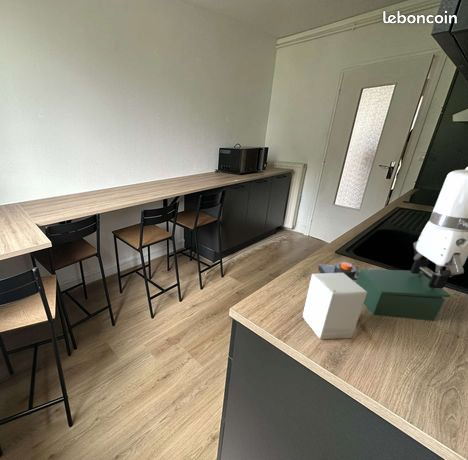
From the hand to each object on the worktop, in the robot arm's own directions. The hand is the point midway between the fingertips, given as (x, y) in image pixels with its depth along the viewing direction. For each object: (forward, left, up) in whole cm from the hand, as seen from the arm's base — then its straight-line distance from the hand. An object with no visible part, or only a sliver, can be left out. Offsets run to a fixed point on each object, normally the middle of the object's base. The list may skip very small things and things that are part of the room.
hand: (425, 279), depth 70 cm
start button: (+12, -16, -7) cm, 21 cm away
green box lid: (+6, 0, -2) cm, 6 cm away
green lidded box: (+6, 0, -11) cm, 12 cm away
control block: (+14, -16, -11) cm, 24 cm away
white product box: (+27, +11, -11) cm, 31 cm away
